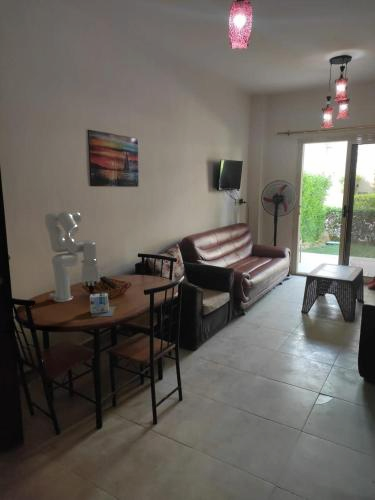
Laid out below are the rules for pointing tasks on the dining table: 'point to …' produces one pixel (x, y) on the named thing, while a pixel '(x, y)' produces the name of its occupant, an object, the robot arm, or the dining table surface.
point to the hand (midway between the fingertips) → (91, 291)
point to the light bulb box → (99, 303)
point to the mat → (104, 313)
